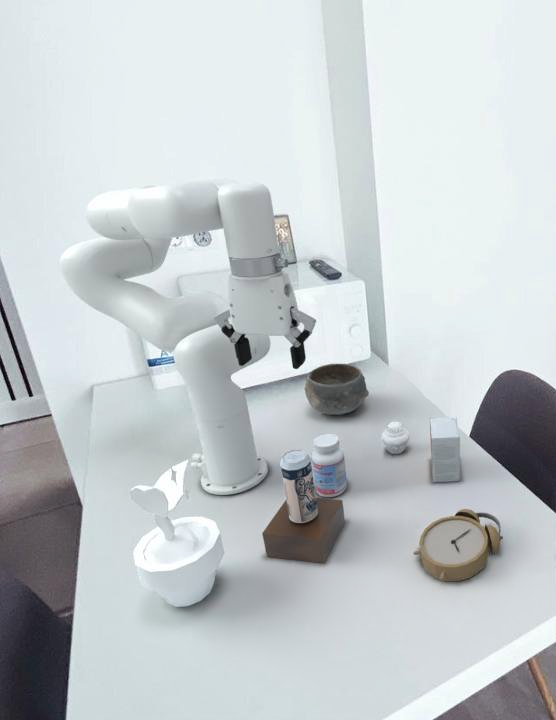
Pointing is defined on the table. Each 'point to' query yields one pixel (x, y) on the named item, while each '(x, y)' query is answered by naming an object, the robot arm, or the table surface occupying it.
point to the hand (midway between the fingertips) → (272, 364)
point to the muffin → (395, 437)
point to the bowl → (336, 388)
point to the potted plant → (176, 544)
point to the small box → (445, 449)
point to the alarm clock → (458, 545)
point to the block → (305, 533)
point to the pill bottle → (328, 466)
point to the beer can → (299, 486)
